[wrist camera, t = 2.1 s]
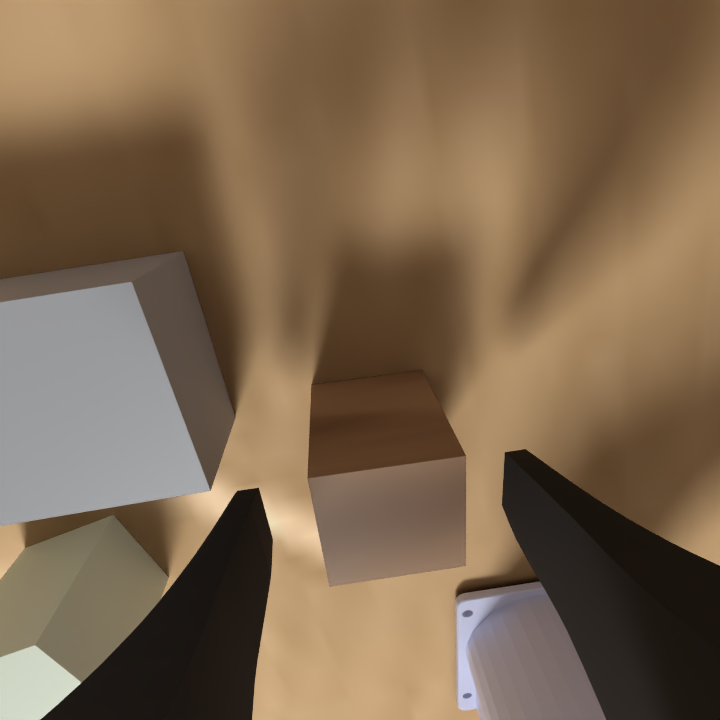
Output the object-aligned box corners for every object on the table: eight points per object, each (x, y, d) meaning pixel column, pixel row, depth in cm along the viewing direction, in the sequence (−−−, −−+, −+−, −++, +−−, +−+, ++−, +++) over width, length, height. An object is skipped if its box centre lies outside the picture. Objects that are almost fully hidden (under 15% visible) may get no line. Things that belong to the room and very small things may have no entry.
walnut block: (426, 458, 17) (465, 566, 12) (327, 472, 17) (329, 586, 12) (421, 369, 15) (465, 455, 10) (311, 384, 15) (307, 478, 10)
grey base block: (236, 414, 15) (210, 490, 12) (72, 441, 15) (-6, 527, 12) (185, 249, 13) (131, 281, 9) (-13, 280, 13) (-147, 325, 9)
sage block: (169, 576, 18) (118, 712, 14) (88, 605, 18) (12, 747, 14) (113, 514, 16) (34, 645, 12) (25, 547, 17) (-83, 686, 12)
